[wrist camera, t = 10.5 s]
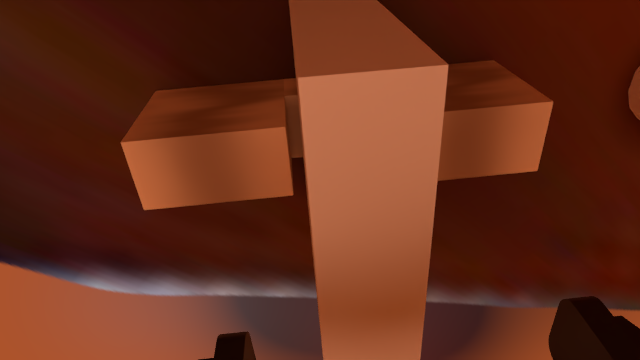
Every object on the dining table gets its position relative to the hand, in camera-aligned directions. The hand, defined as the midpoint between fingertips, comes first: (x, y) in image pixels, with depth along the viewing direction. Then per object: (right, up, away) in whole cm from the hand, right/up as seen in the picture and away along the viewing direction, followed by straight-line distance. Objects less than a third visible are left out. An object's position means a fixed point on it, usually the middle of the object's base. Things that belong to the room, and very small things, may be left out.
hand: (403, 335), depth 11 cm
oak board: (-2, +8, +13) cm, 15 cm away
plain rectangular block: (-2, +8, +13) cm, 15 cm away
